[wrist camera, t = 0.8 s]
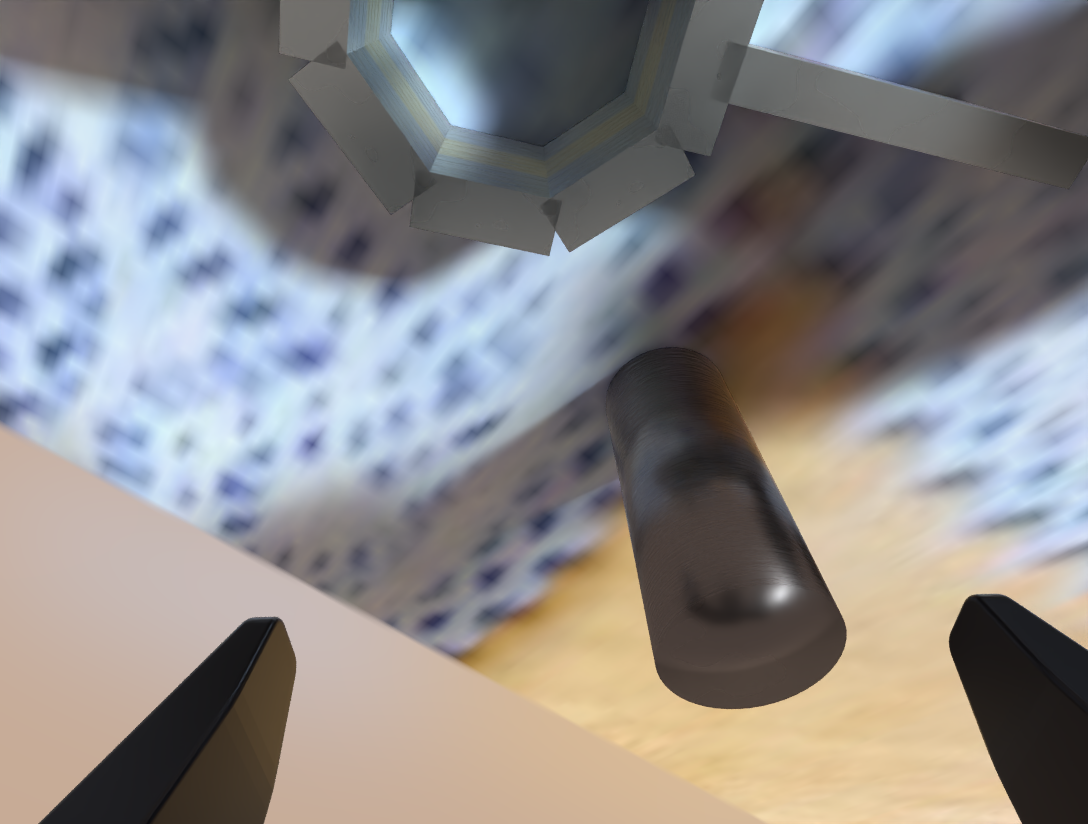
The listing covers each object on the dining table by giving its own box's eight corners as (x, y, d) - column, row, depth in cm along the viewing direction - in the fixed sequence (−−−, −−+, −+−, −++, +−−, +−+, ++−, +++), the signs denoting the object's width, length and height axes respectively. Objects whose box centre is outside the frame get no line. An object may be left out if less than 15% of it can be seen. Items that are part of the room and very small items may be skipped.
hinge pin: (743, 360, 22) (881, 599, 14) (700, 457, 24) (797, 717, 16) (624, 337, 21) (691, 572, 13) (592, 438, 23) (631, 698, 15)
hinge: (1049, -67, 16) (1238, -82, 12) (878, 267, 20) (971, 344, 16) (-58, -413, 13) (-348, -606, 8) (23, 77, 17) (-141, 111, 13)
